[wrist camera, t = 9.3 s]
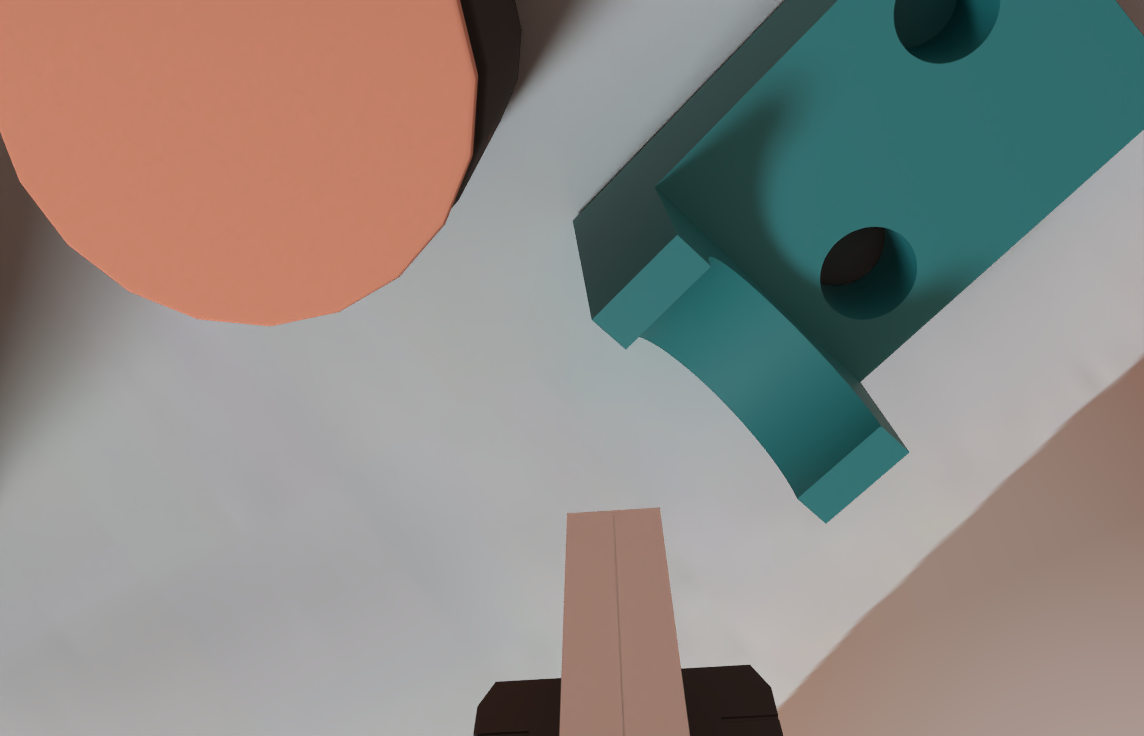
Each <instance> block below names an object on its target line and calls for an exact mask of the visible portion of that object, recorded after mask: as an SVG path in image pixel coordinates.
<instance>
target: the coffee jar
mask: <svg viewBox="0 0 1144 736" xmlns="http://www.w3.org/2000/svg"><path fill="white" fill-rule="evenodd" d="M520 43H521V26H520V22H519V17H518V13H517V8H516V4H515V0H0V133H1V136H2V138H3V141H4V143H5V146H6V148H7V151H8V153H9V156H10V158H11V161H12V163H13V166H14V168H15V171H16V173H17V176H18V178H19V181H20V183H21V184H22V185H23V187H24V188H25V189H26V191H27V192H28V193H29V194H30V196H31V197H32V198H33V200H34V201H35V202H36V204H37V205H38V206H39V208H40V209H41V210H42V212H43V213H44V214H45V215H46V217H47V218H48V219H49V221H50V222H51V223H52V225H53V226H54V227H55V229H56V230H57V231H58V233H59V234H60V235H61V237H62V238H63V239H64V240H65V242H66V243H67V244H68V245H69V246H70V247H71V248H73V249H74V250H75V251H77V252H78V253H79V254H81V255H82V256H83V257H85V258H86V259H87V260H88V261H90V262H91V263H92V264H94V265H95V266H96V267H98V268H99V269H100V270H102V271H103V272H104V273H105V274H107V275H108V276H109V277H111V278H112V279H113V280H115V281H116V282H117V283H119V284H120V285H121V286H122V287H124V288H125V289H126V290H128V291H129V292H132V293H134V294H137V295H139V296H142V297H144V298H147V299H149V300H152V301H154V302H156V303H159V304H161V305H164V306H166V307H169V308H171V309H174V310H176V311H179V312H181V313H184V314H186V315H189V316H191V317H194V318H196V319H202V320H212V321H222V322H233V323H243V324H253V325H264V326H274V325H279V324H283V323H288V322H293V321H298V320H302V319H307V318H312V317H317V316H322V315H326V314H331V313H336V312H340V311H342V310H343V309H345V308H347V307H348V306H350V305H352V304H354V303H355V302H357V301H359V300H360V299H362V298H364V297H366V296H367V295H369V294H371V293H372V292H374V291H376V290H378V289H379V288H381V287H383V286H385V285H386V284H388V283H390V282H391V281H393V280H395V279H397V278H398V277H400V275H401V274H402V273H403V272H404V271H405V270H406V268H407V267H408V266H409V265H410V264H411V263H412V262H413V260H414V259H415V258H416V257H417V256H418V255H419V253H420V252H421V251H422V250H423V249H424V248H425V247H426V245H427V244H428V243H429V242H430V241H431V240H432V238H433V237H434V236H435V235H436V234H437V233H438V231H439V230H440V229H441V228H442V227H443V226H444V225H445V223H446V220H447V218H448V216H449V213H450V211H451V208H452V207H453V206H454V205H455V204H456V202H457V201H458V200H459V198H460V196H461V194H462V193H463V191H464V189H465V187H466V185H467V183H468V181H469V179H470V177H471V176H472V174H473V172H474V170H475V168H476V166H477V164H478V162H479V160H480V159H481V157H482V155H483V153H484V151H485V149H486V147H487V145H488V143H489V142H490V140H491V138H492V136H493V134H494V132H495V130H496V128H497V126H498V125H499V123H500V121H501V118H502V116H503V113H504V111H505V108H506V106H507V104H508V101H509V99H510V96H511V94H512V91H513V89H514V86H515V84H516V81H517V79H518V68H519V56H520Z"/></svg>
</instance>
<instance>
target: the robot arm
mask: <svg viewBox="0 0 1144 736" xmlns="http://www.w3.org/2000/svg"><path fill="white" fill-rule="evenodd" d="M474 736H783V733H782V729H781V725H780V722H779V720H778V713H777V709H776V705H775V701H774V697H773V694H772V690H771V687H770V686H769V685H768V684H767V683H766V682H765V681H764V679H763V678H762V677H761V676H760V675H759V674H758V673H757V672H756V671H755V670H754V669H753V668H752V667H751V665H738V666H721V667H704V668H686V669H681V665H680V658H679V650H678V643H677V635H676V628H675V620H674V612H673V605H672V597H671V590H670V582H669V575H668V567H667V560H666V552H665V545H664V537H663V530H662V522H661V515H660V508H646V509H630V510H614V511H598V512H583V513H567V534H566V562H565V591H564V619H563V648H562V676H561V678H556V679H539V680H521V681H504V682H495V684H494V685H493V686H492V688H491V689H490V691H489V692H488V693H487V695H486V696H485V697H484V699H483V700H482V701H481V703H480V704H479V705H478V707H477V714H476V721H475V728H474Z"/></svg>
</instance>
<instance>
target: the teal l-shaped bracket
mask: <svg viewBox="0 0 1144 736" xmlns="http://www.w3.org/2000/svg"><path fill="white" fill-rule="evenodd" d="M1142 130H1144V36H1143V35H1142V33H1141V32H1140V31H1139V30H1138V28H1137V27H1136V26H1135V24H1134V23H1133V22H1132V21H1131V19H1130V18H1129V17H1128V16H1127V14H1126V13H1125V12H1124V11H1123V9H1122V8H1121V7H1120V5H1119V4H1118V3H1117V2H1116V0H785V1H784V2H783V3H782V4H781V5H780V6H779V7H778V8H777V9H776V10H775V11H774V13H773V14H772V15H771V16H770V17H769V18H768V19H767V20H766V21H765V22H764V23H763V24H762V25H761V26H760V27H759V28H758V29H757V30H756V31H755V32H754V33H753V34H752V35H751V36H750V37H749V38H748V39H747V41H746V42H745V43H744V44H743V45H742V46H741V47H740V48H739V49H738V50H737V51H736V52H735V53H734V54H733V55H732V56H731V57H730V58H729V59H728V60H727V61H726V62H725V63H724V64H723V65H722V66H721V67H720V69H719V70H718V71H717V72H716V73H715V74H714V75H713V76H712V77H711V78H710V79H709V80H708V81H707V82H706V83H705V84H704V85H703V86H702V87H701V88H700V89H699V90H698V91H697V92H696V93H695V94H694V95H693V97H692V98H691V99H690V100H689V101H688V102H687V103H686V104H685V105H684V106H683V107H682V108H681V109H680V110H679V111H678V112H677V113H676V114H675V115H674V116H673V117H672V118H671V119H670V120H669V121H668V122H667V124H666V125H665V126H664V127H663V128H662V129H661V130H660V131H659V132H658V133H657V134H656V135H655V136H654V137H653V138H652V139H651V140H650V141H649V142H648V143H647V144H646V145H645V146H644V147H643V148H642V149H641V150H640V152H639V153H638V154H637V155H636V156H635V157H634V158H633V159H632V160H631V161H630V162H629V163H628V164H627V165H626V166H625V167H624V168H623V169H622V170H621V171H620V172H619V173H618V174H617V175H616V176H615V177H614V178H613V180H612V181H611V182H610V183H609V184H608V185H607V186H606V187H605V188H604V189H603V190H602V191H601V192H600V193H599V194H598V195H597V196H596V197H595V198H594V199H593V200H592V201H591V202H590V203H589V204H588V205H587V207H586V208H585V209H584V210H583V211H582V212H581V213H580V214H579V215H578V216H577V217H576V218H575V219H574V220H573V224H574V229H575V234H576V239H577V245H578V250H579V255H580V260H581V266H582V271H583V276H584V281H585V286H586V292H587V297H588V302H589V307H590V313H591V318H592V320H593V321H594V322H595V323H596V324H597V325H598V326H600V327H601V328H602V329H603V330H604V331H605V332H606V333H608V334H609V335H610V336H611V337H612V338H613V339H615V340H616V341H617V342H618V343H619V344H620V345H621V346H623V347H624V348H625V349H627V348H628V347H629V346H630V345H631V344H632V343H633V342H634V341H635V340H636V339H637V338H638V337H641V338H644V339H646V340H648V341H650V342H652V343H654V344H655V345H657V346H658V347H660V348H662V349H663V350H664V351H666V352H667V353H669V354H670V355H671V356H673V357H674V358H675V359H677V360H678V361H679V362H680V363H682V364H683V365H684V366H685V367H687V368H688V369H689V370H690V371H691V372H692V373H694V374H695V375H696V376H697V377H698V378H699V379H700V380H701V381H702V382H703V383H705V384H706V385H707V386H708V387H709V388H710V389H711V390H712V391H713V392H714V393H715V394H716V395H717V396H718V397H719V398H720V399H721V400H722V401H723V402H724V403H725V404H726V405H727V406H728V407H729V408H730V409H731V410H732V411H733V412H734V414H735V415H736V416H737V417H738V418H739V419H740V420H741V421H742V422H743V423H744V425H745V426H746V427H747V428H748V429H749V430H750V431H751V433H752V434H753V435H754V436H755V437H756V439H757V440H758V441H759V442H760V444H761V445H762V446H763V447H764V449H765V450H766V451H767V452H768V454H769V455H770V456H771V458H772V459H773V460H774V462H775V463H776V465H777V466H778V467H779V469H780V470H781V472H782V473H783V475H784V476H785V478H786V479H787V481H788V483H789V484H790V486H791V488H792V489H793V491H794V493H795V495H796V497H797V499H798V500H799V501H801V502H802V503H803V504H804V505H805V506H806V507H807V508H809V509H810V510H811V511H812V512H813V513H814V514H816V515H817V516H818V517H819V518H820V519H821V520H822V521H824V522H825V523H827V522H828V521H830V520H831V519H832V518H833V517H834V516H835V515H837V514H838V513H839V512H840V511H841V510H843V509H844V508H845V507H846V506H847V505H848V504H850V503H851V502H852V501H853V500H854V499H855V498H857V497H858V496H859V495H860V494H861V493H862V492H864V491H865V490H866V489H867V488H868V487H869V486H871V485H872V484H873V483H874V482H875V481H876V480H878V479H879V478H880V477H881V476H882V475H883V474H885V473H886V472H887V471H888V470H889V469H890V468H892V467H893V466H894V465H895V464H896V463H897V462H899V461H900V460H901V459H902V458H903V457H904V456H906V455H907V454H908V453H909V451H908V450H907V448H906V447H905V445H904V444H903V442H902V441H901V440H900V438H899V437H898V435H897V434H896V432H895V431H894V430H893V428H892V427H891V425H890V424H889V422H888V421H887V420H886V418H885V417H884V415H883V414H882V412H881V411H880V410H879V408H878V407H877V405H876V404H875V403H874V401H873V400H872V398H871V397H870V395H869V394H868V393H867V391H866V390H865V388H864V387H863V385H862V384H861V383H860V382H861V381H862V380H863V379H864V378H865V377H866V376H868V375H869V374H870V373H871V372H872V371H873V370H874V369H875V368H877V367H878V366H879V365H880V364H881V363H882V362H883V361H884V360H885V359H887V358H888V357H889V356H890V355H891V354H892V353H893V352H894V351H896V350H897V349H898V348H899V347H900V346H901V345H902V344H903V343H905V342H906V341H907V340H908V339H909V338H910V337H911V336H912V335H914V334H915V333H916V332H917V331H918V330H919V329H920V328H921V327H923V326H924V325H925V324H926V323H927V322H928V321H929V320H930V319H931V318H933V317H934V316H935V315H936V314H937V313H938V312H939V311H940V310H942V309H943V308H944V307H945V306H946V305H947V304H948V303H949V302H951V301H952V300H953V299H954V298H955V297H956V296H957V295H958V294H960V293H961V292H962V291H963V290H964V289H965V288H966V287H967V286H969V285H970V284H971V283H972V282H973V281H974V280H975V279H976V278H978V277H979V276H980V275H981V274H982V273H983V272H984V271H985V270H986V269H988V268H989V267H990V266H991V265H992V264H993V263H994V262H995V261H997V260H998V259H999V258H1000V257H1001V256H1002V255H1003V254H1004V253H1006V252H1007V251H1008V250H1009V249H1010V248H1011V247H1012V246H1013V245H1015V244H1016V243H1017V242H1018V241H1019V240H1020V239H1021V238H1022V237H1024V236H1025V235H1026V234H1027V233H1028V232H1029V231H1030V230H1031V229H1032V228H1034V227H1035V226H1036V225H1037V224H1038V223H1039V222H1040V221H1041V220H1043V219H1044V218H1045V217H1046V216H1047V215H1048V214H1049V213H1050V212H1052V211H1053V210H1054V209H1055V208H1056V207H1057V206H1058V205H1059V204H1061V203H1062V202H1063V201H1064V200H1065V199H1066V198H1067V197H1068V196H1070V195H1071V194H1072V193H1073V192H1074V191H1075V190H1076V189H1077V188H1078V187H1080V186H1081V185H1082V184H1083V183H1084V182H1085V181H1086V180H1087V179H1089V178H1090V177H1091V176H1092V175H1093V174H1094V173H1095V172H1096V171H1098V170H1099V169H1100V168H1101V167H1102V166H1103V165H1104V164H1105V163H1107V162H1108V161H1109V160H1110V159H1111V158H1112V157H1113V156H1114V155H1116V154H1117V153H1118V152H1119V151H1120V150H1121V149H1122V148H1123V147H1124V146H1126V145H1127V144H1128V143H1129V142H1130V141H1131V140H1132V139H1133V138H1135V137H1136V136H1137V135H1138V134H1139V133H1140V132H1141V131H1142ZM867 227H883V228H884V231H885V243H884V248H883V252H882V254H881V256H880V258H879V260H878V262H877V263H876V265H875V266H874V267H873V268H872V269H871V271H869V272H868V273H867V274H866V275H865V276H863V277H862V278H860V279H858V280H856V281H854V282H852V283H849V284H845V285H838V286H831V285H825V284H821V283H820V273H821V268H822V265H823V262H824V260H825V257H826V256H827V254H828V252H829V251H830V249H831V248H832V247H833V246H834V245H835V244H836V243H837V242H838V241H839V240H840V239H841V238H843V237H844V236H846V235H847V234H849V233H851V232H853V231H856V230H858V229H862V228H867Z"/></svg>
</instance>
